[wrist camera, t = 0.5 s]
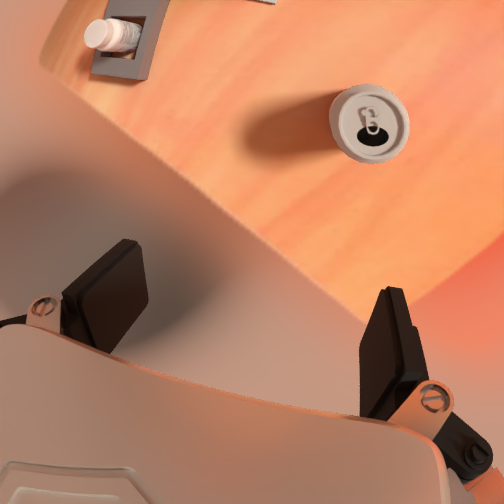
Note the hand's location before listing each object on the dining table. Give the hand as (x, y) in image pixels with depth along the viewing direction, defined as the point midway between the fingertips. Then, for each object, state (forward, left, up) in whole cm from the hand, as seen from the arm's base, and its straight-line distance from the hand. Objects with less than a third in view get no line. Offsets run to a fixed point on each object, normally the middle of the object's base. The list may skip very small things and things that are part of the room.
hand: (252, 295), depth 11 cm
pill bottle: (-10, -28, -30) cm, 42 cm away
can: (-7, +5, -30) cm, 31 cm away
